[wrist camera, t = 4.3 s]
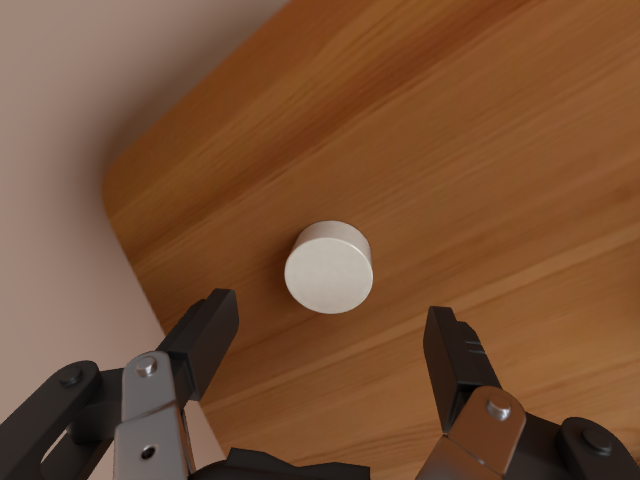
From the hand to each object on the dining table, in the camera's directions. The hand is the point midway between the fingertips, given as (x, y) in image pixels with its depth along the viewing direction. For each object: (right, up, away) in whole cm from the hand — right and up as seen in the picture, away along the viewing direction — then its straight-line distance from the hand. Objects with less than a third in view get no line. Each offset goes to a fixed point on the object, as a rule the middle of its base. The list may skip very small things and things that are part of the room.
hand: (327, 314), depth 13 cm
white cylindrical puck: (0, +2, +5) cm, 6 cm away
